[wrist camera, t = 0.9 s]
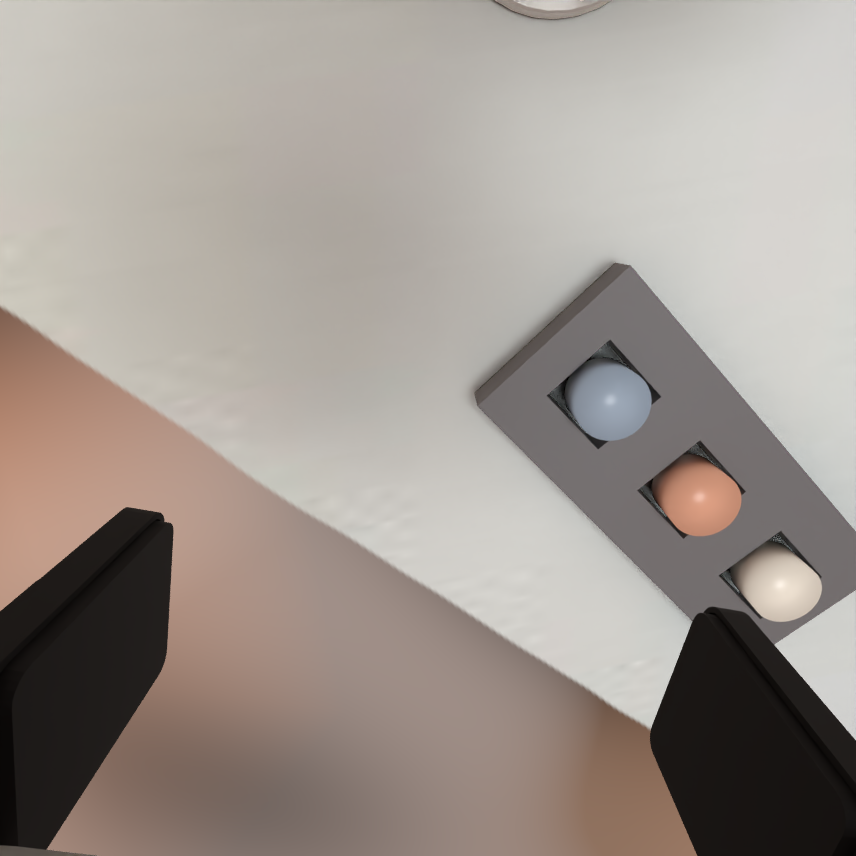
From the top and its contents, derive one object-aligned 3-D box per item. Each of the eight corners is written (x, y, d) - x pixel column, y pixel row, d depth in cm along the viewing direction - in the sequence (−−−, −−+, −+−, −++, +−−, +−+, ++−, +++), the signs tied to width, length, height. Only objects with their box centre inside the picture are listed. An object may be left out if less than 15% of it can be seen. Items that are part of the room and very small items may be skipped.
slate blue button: (604, 343, 35) (619, 352, 32) (648, 392, 36) (667, 405, 33) (550, 391, 36) (560, 404, 33) (594, 437, 37) (607, 454, 34)
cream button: (771, 528, 39) (797, 552, 36) (807, 568, 40) (835, 594, 37) (717, 567, 40) (739, 593, 37) (753, 605, 41) (777, 633, 38)
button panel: (615, 262, 35) (630, 265, 33) (856, 546, 42) (887, 569, 39) (474, 393, 38) (477, 406, 35) (719, 639, 44) (739, 667, 42)
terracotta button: (692, 441, 37) (713, 458, 34) (731, 485, 38) (755, 505, 35) (638, 484, 38) (654, 504, 35) (678, 525, 39) (697, 548, 36)
